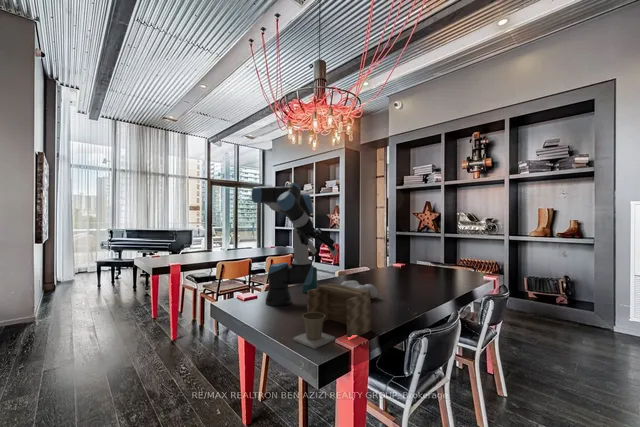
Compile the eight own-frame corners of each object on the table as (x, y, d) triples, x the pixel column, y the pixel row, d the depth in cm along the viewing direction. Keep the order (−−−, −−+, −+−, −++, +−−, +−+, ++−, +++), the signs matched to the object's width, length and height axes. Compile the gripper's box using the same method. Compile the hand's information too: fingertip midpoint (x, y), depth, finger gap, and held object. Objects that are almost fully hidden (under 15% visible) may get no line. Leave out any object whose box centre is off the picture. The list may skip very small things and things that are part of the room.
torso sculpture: (379, 302, 177) (352, 288, 204) (380, 285, 176) (353, 273, 203) (358, 306, 170) (333, 290, 196) (359, 288, 169) (334, 275, 196)
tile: (314, 348, 106) (314, 346, 106) (293, 340, 115) (293, 337, 115) (335, 339, 115) (335, 336, 115) (314, 331, 123) (314, 329, 123)
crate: (349, 340, 114) (348, 297, 115) (307, 325, 131) (307, 288, 131) (370, 330, 125) (370, 290, 125) (329, 317, 142) (329, 283, 142)
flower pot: (326, 333, 119) (326, 312, 120) (324, 342, 110) (324, 319, 110) (304, 332, 120) (303, 311, 120) (300, 341, 111) (300, 319, 111)
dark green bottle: (318, 291, 197) (318, 259, 198) (309, 294, 191) (309, 261, 192) (308, 289, 204) (308, 258, 205) (299, 291, 197) (299, 260, 198)
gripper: (279, 228, 134) (303, 257, 144) (317, 228, 117) (341, 261, 127) (288, 217, 138) (310, 246, 148) (326, 215, 121) (348, 248, 131)
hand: (325, 253), depth 138 cm, fingers open, 13 cm apart
